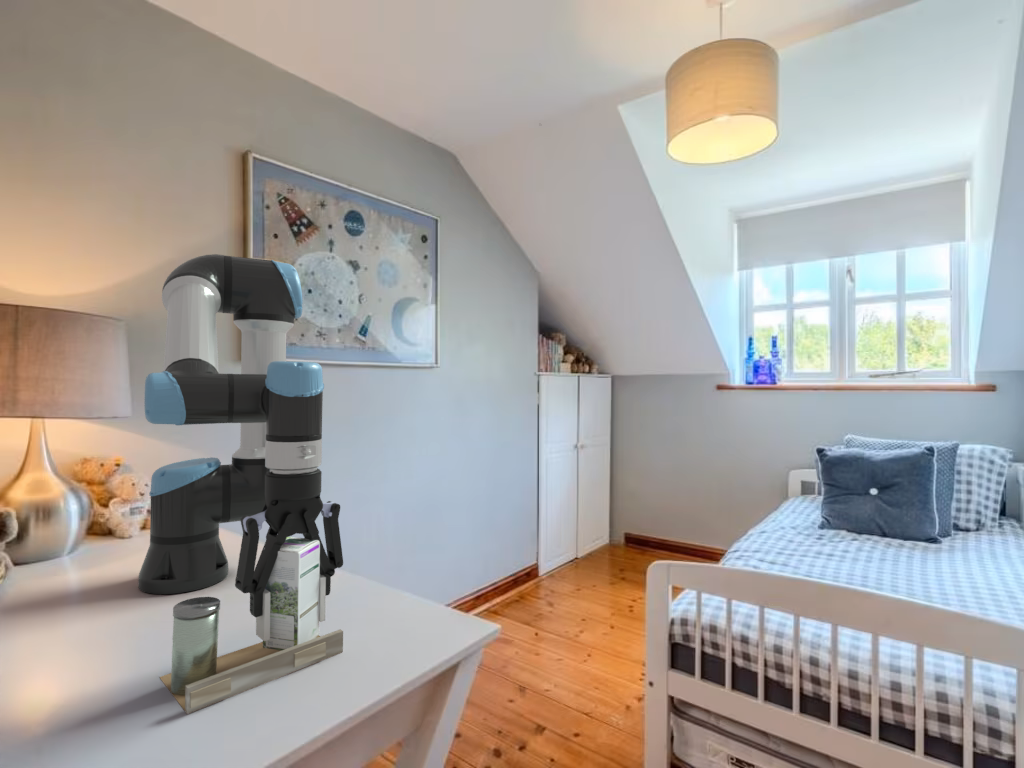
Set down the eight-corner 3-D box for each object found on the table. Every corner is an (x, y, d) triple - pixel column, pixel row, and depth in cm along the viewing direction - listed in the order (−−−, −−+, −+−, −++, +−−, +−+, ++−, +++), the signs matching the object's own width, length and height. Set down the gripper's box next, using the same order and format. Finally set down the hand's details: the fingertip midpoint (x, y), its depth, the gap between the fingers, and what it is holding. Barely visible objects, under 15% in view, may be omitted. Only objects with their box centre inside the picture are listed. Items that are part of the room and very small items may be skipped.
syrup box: (320, 634, 80) (322, 537, 80) (297, 654, 74) (298, 550, 74) (286, 630, 81) (287, 534, 81) (260, 649, 75) (261, 546, 75)
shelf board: (159, 686, 70) (159, 654, 70) (306, 634, 85) (306, 607, 85) (187, 725, 63) (188, 689, 63) (343, 660, 78) (344, 631, 77)
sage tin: (163, 684, 68) (166, 604, 69) (206, 668, 73) (210, 593, 73) (179, 700, 65) (182, 617, 65) (224, 683, 69) (227, 604, 69)
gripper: (228, 482, 67) (226, 663, 68) (370, 464, 82) (367, 613, 83) (207, 473, 72) (205, 643, 73) (344, 458, 87) (342, 599, 88)
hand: (291, 627), depth 78 cm, fingers closed on syrup box, 7 cm apart
